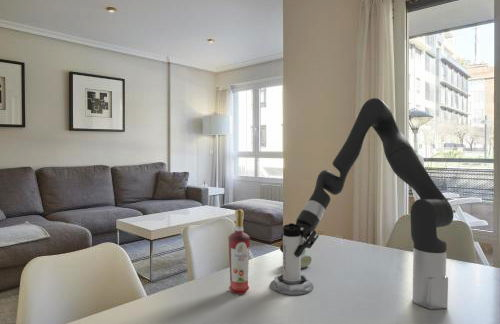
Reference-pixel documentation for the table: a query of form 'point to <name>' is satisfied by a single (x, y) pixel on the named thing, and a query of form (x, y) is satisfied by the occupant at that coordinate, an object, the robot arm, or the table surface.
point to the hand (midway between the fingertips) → (288, 253)
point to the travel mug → (291, 254)
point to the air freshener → (305, 259)
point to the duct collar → (291, 286)
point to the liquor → (239, 256)
